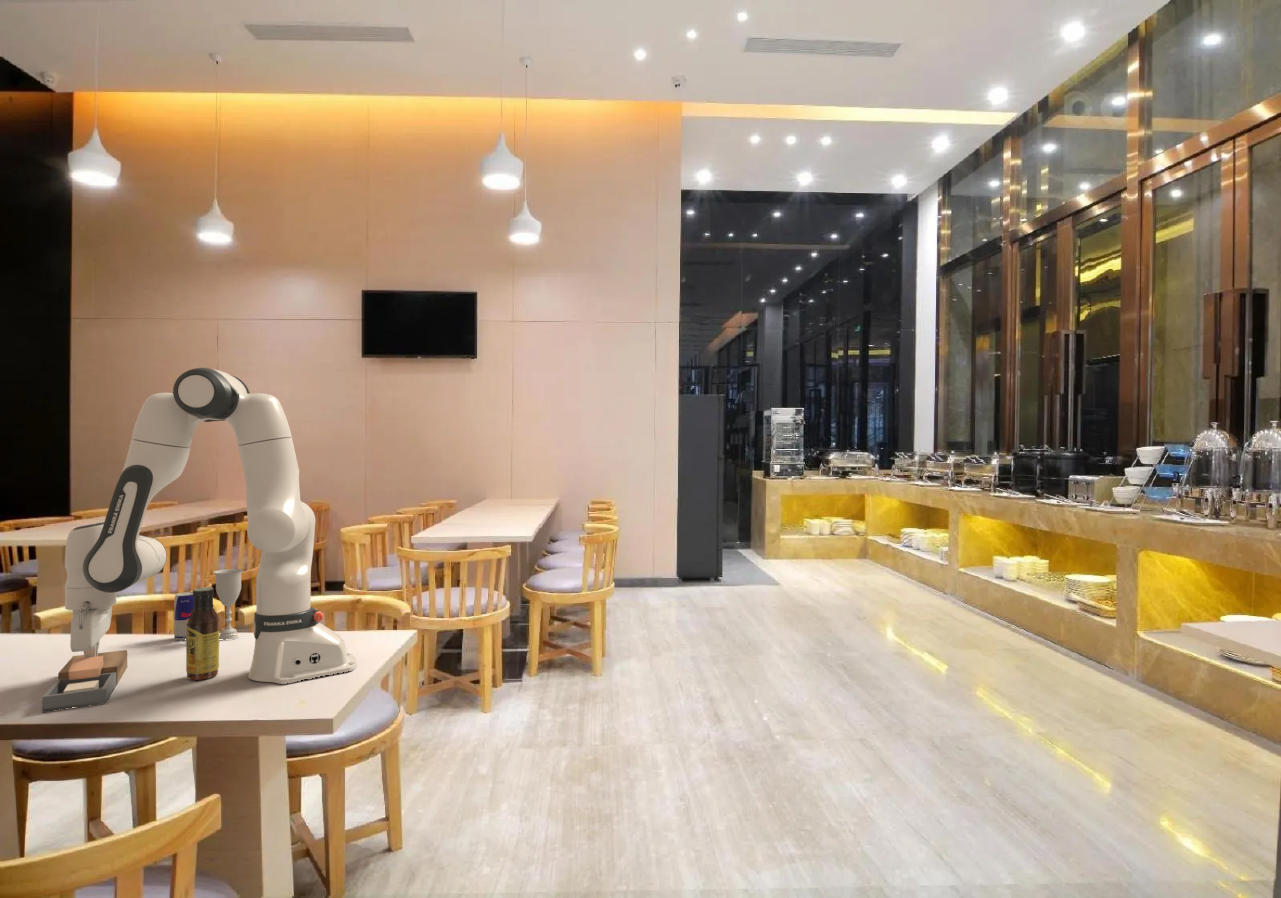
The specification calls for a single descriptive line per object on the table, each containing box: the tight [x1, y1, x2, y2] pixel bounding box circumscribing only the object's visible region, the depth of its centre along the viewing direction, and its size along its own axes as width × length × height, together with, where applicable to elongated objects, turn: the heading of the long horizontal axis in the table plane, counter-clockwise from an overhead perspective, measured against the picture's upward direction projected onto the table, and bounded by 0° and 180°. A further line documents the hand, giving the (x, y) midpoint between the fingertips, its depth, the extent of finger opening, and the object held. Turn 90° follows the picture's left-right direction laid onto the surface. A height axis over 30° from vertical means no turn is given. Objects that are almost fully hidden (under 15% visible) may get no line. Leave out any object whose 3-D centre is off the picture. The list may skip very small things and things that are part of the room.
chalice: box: [213, 568, 244, 641], centre depth 191 cm, size 7×7×18 cm
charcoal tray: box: [41, 672, 117, 712], centre depth 145 cm, size 10×12×3 cm
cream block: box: [63, 680, 99, 693], centre depth 145 cm, size 5×5×2 cm
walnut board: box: [57, 649, 128, 686], centre depth 157 cm, size 10×14×4 cm
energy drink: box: [173, 591, 194, 641], centre depth 191 cm, size 5×5×12 cm
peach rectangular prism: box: [68, 656, 103, 680], centre depth 150 cm, size 5×5×2 cm
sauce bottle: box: [185, 586, 220, 681], centre depth 159 cm, size 6×6×20 cm
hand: (91, 661), depth 154 cm, fingers closed
